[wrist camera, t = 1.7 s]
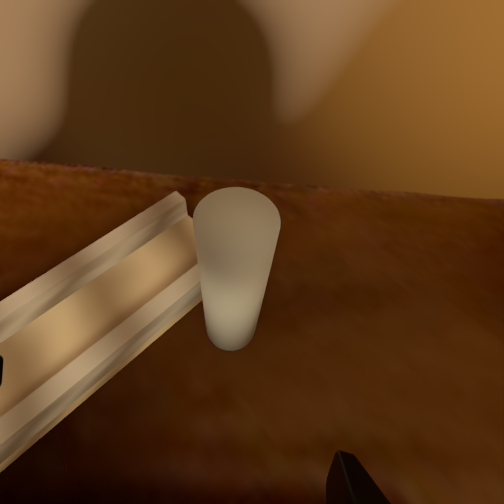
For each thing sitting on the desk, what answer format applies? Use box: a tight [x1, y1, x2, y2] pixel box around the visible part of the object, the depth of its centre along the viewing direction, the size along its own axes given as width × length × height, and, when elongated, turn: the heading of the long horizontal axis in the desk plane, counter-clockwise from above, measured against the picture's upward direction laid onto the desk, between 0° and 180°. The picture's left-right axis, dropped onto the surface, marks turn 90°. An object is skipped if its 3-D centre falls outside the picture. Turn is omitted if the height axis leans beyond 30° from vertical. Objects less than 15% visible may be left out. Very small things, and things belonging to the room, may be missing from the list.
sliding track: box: [0, 191, 202, 472], centre depth 22 cm, size 20×8×3 cm, turn 135°
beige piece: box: [193, 187, 281, 351], centre depth 19 cm, size 4×4×12 cm
